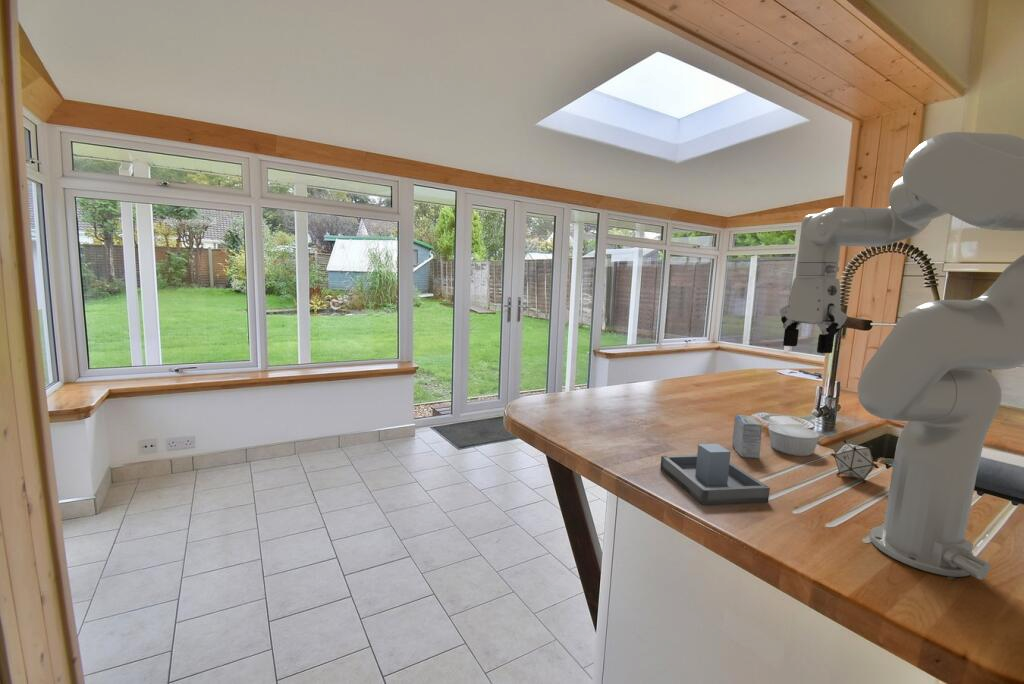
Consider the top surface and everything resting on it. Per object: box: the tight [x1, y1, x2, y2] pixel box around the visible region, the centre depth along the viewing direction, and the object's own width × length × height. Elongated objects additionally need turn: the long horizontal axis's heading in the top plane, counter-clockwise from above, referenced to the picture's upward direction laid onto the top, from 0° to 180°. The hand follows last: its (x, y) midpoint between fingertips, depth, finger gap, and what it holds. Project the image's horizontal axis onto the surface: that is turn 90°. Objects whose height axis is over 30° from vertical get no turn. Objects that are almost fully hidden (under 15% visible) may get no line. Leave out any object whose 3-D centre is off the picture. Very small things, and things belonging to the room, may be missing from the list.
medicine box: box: [731, 414, 763, 459], centre depth 115 cm, size 8×4×9 cm, turn 168°
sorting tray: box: [660, 454, 770, 506], centre depth 96 cm, size 17×14×3 cm
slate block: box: [695, 443, 731, 485], centre depth 95 cm, size 4×4×7 cm
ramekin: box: [767, 423, 821, 457], centre depth 118 cm, size 11×11×5 cm
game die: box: [830, 439, 880, 484], centre depth 101 cm, size 9×8×10 cm
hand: (806, 349), depth 101 cm, fingers open, 9 cm apart
